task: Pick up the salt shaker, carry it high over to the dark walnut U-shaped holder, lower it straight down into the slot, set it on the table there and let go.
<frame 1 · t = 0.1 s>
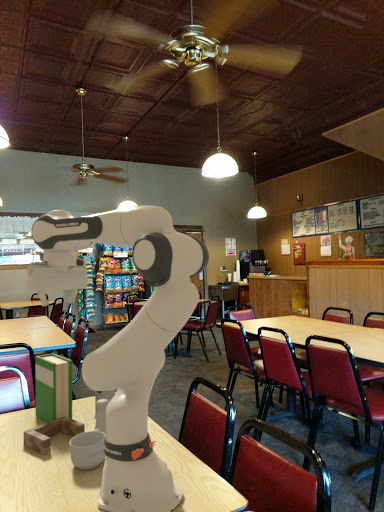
hand: (58, 304, 119), 48 cm above the table, tool pointing down, fingers open, 8 cm apart
hardback book: (53, 419, 147), on the table
walnut holder: (54, 440, 129), on the table
salt shaker: (102, 438, 130), on the table
teacup: (91, 462, 114), on the table
glass holder: (102, 414, 152), on the table
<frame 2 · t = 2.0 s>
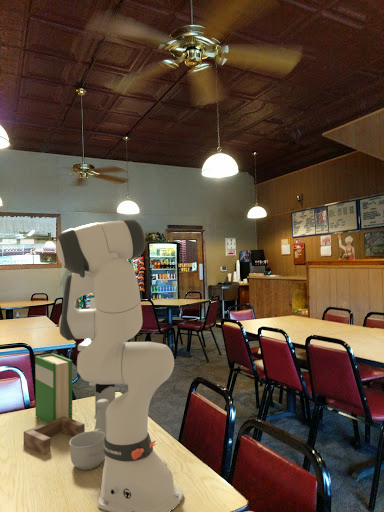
hand: (102, 381, 131), 19 cm above the table, tool pointing down, fingers open, 8 cm apart
nothing on the table moved.
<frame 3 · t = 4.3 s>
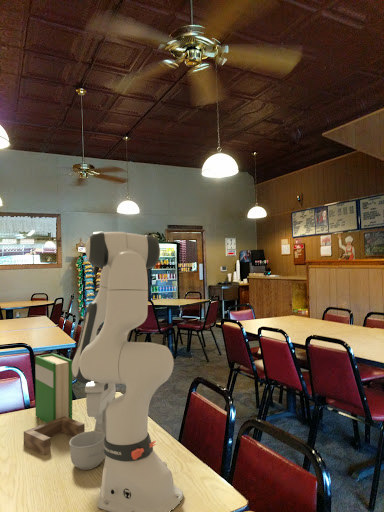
hand: (102, 419, 131), 6 cm above the table, tool pointing down, fingers closed on salt shaker, 4 cm apart
salt shaker: (102, 438, 130), on the table, touching gripper
everything else where it was.
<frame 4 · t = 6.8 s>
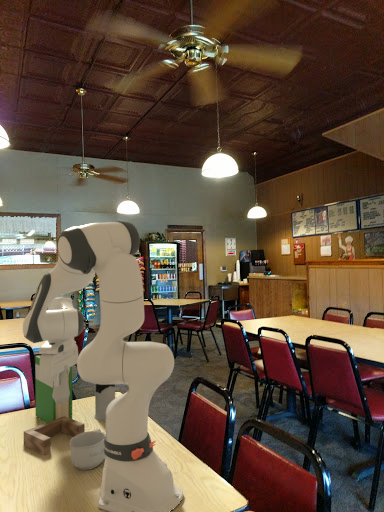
hand: (61, 383, 129), 19 cm above the table, tool pointing down, fingers closed on salt shaker, 4 cm apart
salt shaker: (61, 402, 129), point 13 cm above the table, touching gripper
everything else where it was.
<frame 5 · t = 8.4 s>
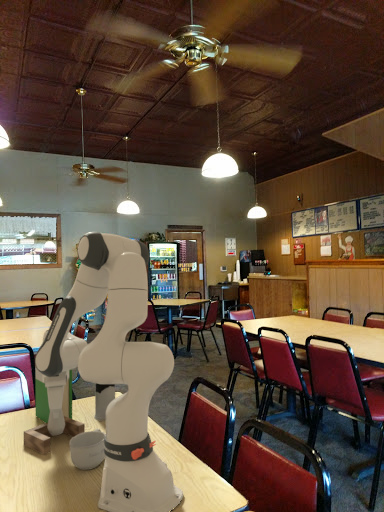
hand: (56, 414, 129), 9 cm above the table, tool pointing down, fingers closed on salt shaker, 4 cm apart
salt shaker: (56, 433, 129), point 2 cm above the table, touching gripper
everything else where it was.
when the fingers open (7 cm above the table, at t = 9.8 s): salt shaker stays where it is, on the table.
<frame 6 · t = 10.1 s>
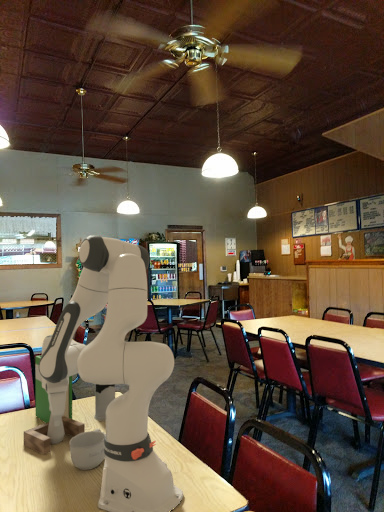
hand: (55, 420, 129), 7 cm above the table, tool pointing down, fingers open, 7 cm apart
salt shaker: (55, 441, 128), on the table
everything else where it was.
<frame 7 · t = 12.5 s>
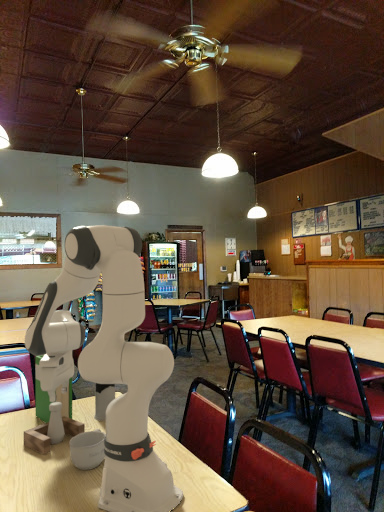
hand: (58, 396, 129), 15 cm above the table, tool pointing down, fingers open, 8 cm apart
nothing on the table moved.
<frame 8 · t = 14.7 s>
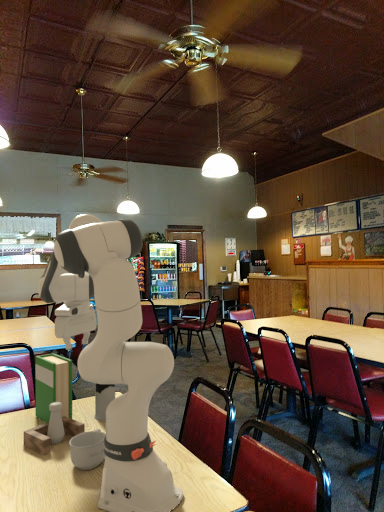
hand: (77, 346, 135), 31 cm above the table, tool pointing down, fingers open, 8 cm apart
nothing on the table moved.
at the end: salt shaker 0.7 cm off-centre on the walnut holder, point 0.0 cm above the walnut holder's base; salt shaker tilted 0°; the gripper is holding nothing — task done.
